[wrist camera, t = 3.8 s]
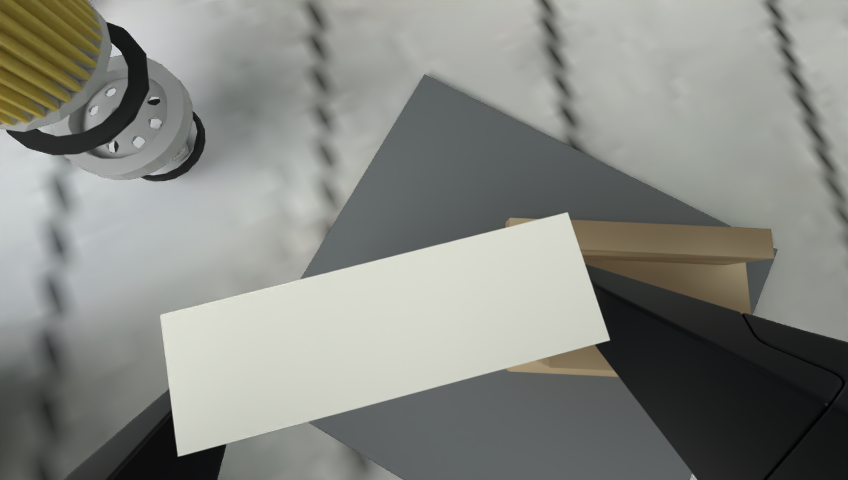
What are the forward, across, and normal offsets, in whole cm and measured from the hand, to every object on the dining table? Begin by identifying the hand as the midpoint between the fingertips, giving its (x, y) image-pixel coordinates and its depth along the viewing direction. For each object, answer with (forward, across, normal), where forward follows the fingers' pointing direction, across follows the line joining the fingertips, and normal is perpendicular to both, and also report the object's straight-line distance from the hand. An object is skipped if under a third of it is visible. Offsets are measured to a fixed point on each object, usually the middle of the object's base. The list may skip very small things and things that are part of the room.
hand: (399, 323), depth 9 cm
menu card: (+6, 0, -6) cm, 8 cm away
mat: (+5, +5, -7) cm, 10 cm away
